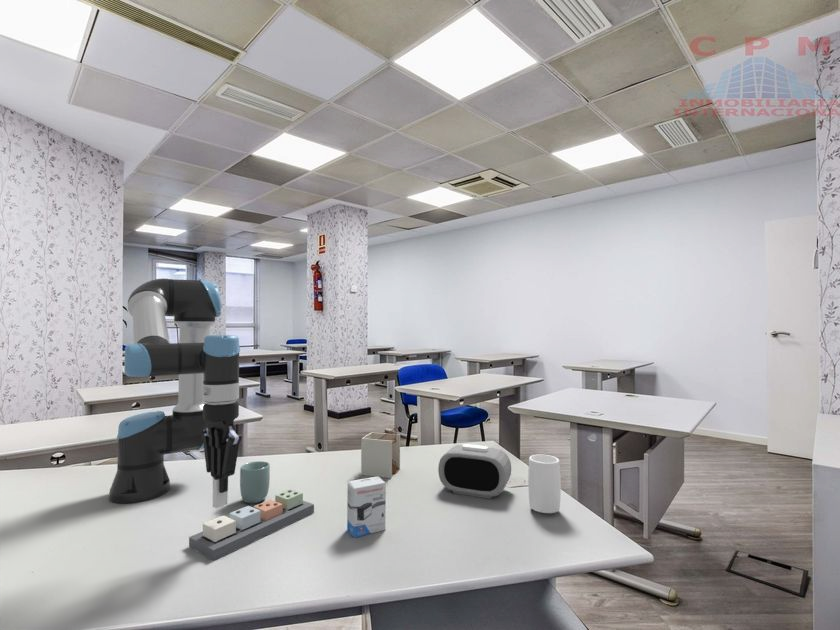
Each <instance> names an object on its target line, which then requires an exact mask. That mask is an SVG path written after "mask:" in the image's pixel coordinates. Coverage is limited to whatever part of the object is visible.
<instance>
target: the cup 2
mask: <svg viewBox="0 0 840 630" xmlns="http://www.w3.org/2000/svg"><path fill="white" fill-rule="evenodd" d="M560 465H561V464H560V459H559V458H557V457H556V456H554V455H549V454H542V453H541V454H539V453H538V454H532V455H530V456H529V459H528V476H527V478H528V480H527V481H528V501H529V508H531V509H532V510H533V511H535V512H537V513H544V514H553V513H554V514H555V513H558V512H559V511H560V508H561V494H562V493H561V491H562V489H561V488H562V487H561V485H562V484H561V482H562V481H561V480H562V478H561V467H560Z"/></svg>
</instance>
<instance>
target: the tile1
mask: <svg viewBox="0 0 840 630" xmlns="http://www.w3.org/2000/svg"><path fill="white" fill-rule="evenodd" d="M202 532H203V536H204V537H206V538H208V539H210V540H212V541H213V542H215V543H217V542H219V541H221V540H224V538H225V537H227V536H230V535H232V534H234V533H236V521H235V520H233V519H231V518H230V517H228V516H226V515H222V516H219V517H216V518H214V519H211V520H209V521H206V522H203V523H202ZM225 539H226V538H225Z"/></svg>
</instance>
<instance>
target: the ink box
mask: <svg viewBox="0 0 840 630" xmlns="http://www.w3.org/2000/svg"><path fill="white" fill-rule="evenodd" d="M386 485H387V484H386V481H384V480H383V479H382V477H377V476H370V477H367V478H361V479H355V480H349V482H347V495H346V496H347V501H346V502H347V506H346V507H347V511H346V513H347V514H346V517H347V521H346V523H347V524H346V528H347V529H346V530H347V531H348V533H349V534H350V535H351V536H352V537H353V538H358V537H362V536H366V535H369V533H370V534H373V533H378V532H382V531H385V530H386V519H387V517H386V509H387V506H386V503H387V502H386V497H387V495H386V488H387V487H386Z"/></svg>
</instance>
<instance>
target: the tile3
mask: <svg viewBox="0 0 840 630" xmlns="http://www.w3.org/2000/svg"><path fill="white" fill-rule="evenodd" d="M253 508H255V509H258V510H260V511H261V517H260V519H261V520H263V521H265V522H266V521H268V520H270V519H272V518H275V517H277V516H279V515H281V514H283V504H281V503H278V502H276V501H275V500H272V499H269V500H266V501H264V502H263V501H262V502H261V503H257V504H256V505H254V506H253Z"/></svg>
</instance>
